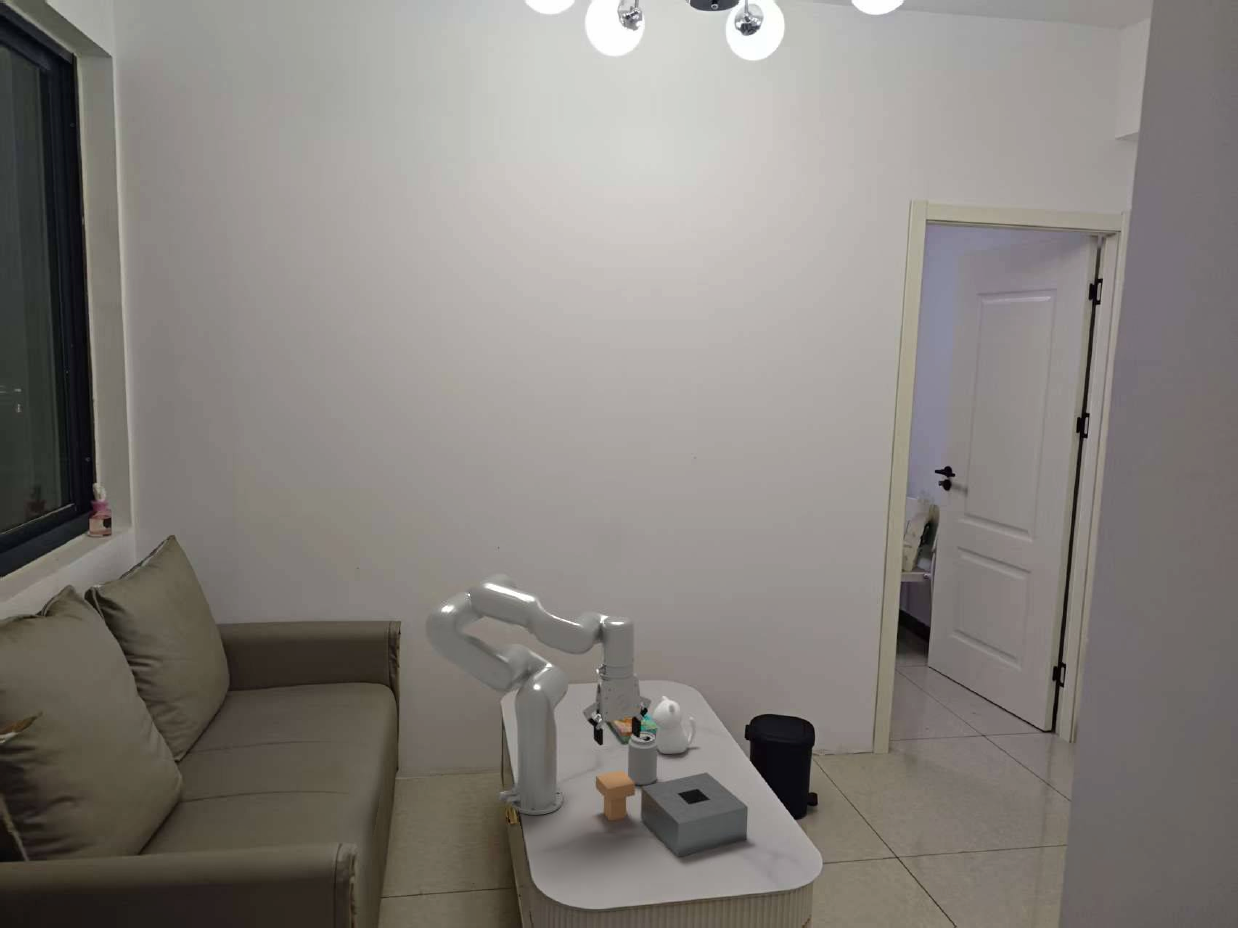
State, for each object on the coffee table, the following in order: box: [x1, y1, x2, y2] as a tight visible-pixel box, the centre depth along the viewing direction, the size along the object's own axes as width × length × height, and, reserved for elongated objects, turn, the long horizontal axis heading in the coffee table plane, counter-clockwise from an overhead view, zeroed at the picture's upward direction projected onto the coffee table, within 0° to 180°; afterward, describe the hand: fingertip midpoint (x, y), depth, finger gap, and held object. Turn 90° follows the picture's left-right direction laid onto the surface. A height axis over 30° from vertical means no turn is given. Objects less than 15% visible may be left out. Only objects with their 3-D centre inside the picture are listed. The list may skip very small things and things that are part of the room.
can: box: [627, 732, 658, 786], centre depth 230 cm, size 8×8×12 cm
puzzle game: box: [609, 705, 659, 743], centre depth 262 cm, size 12×5×20 cm
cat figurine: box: [652, 695, 697, 755], centre depth 248 cm, size 9×12×15 cm
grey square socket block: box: [640, 772, 749, 859], centre depth 207 cm, size 18×18×8 cm
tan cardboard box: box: [595, 770, 636, 821], centre depth 213 cm, size 7×7×9 cm
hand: (617, 739), depth 211 cm, fingers open, 9 cm apart
